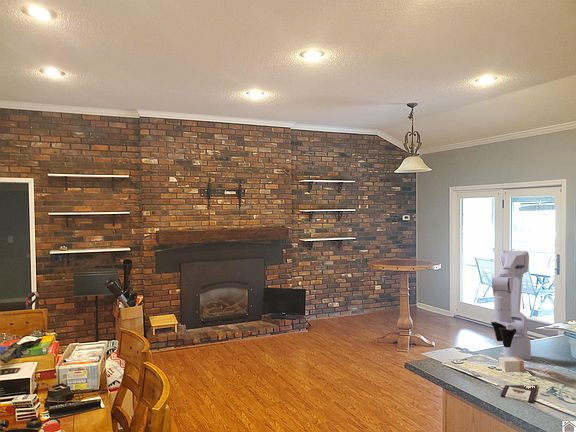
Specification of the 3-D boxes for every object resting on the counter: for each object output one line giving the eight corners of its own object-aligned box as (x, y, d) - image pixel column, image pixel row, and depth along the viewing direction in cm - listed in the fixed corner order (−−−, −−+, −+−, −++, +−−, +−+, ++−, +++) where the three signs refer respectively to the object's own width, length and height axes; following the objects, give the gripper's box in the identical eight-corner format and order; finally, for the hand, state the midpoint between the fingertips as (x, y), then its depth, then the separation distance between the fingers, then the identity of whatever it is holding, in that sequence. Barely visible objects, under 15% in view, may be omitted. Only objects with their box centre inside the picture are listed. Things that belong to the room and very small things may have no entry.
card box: (498, 367, 158) (498, 357, 158) (517, 367, 158) (517, 357, 158) (504, 372, 154) (504, 361, 154) (523, 372, 154) (523, 361, 154)
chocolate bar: (538, 383, 144) (532, 401, 129) (538, 385, 144) (533, 404, 129) (508, 377, 149) (500, 395, 134) (508, 380, 149) (500, 397, 134)
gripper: (521, 312, 152) (522, 350, 152) (507, 304, 166) (507, 338, 166) (500, 312, 153) (501, 349, 153) (488, 304, 167) (488, 338, 167)
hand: (503, 344), depth 159 cm, fingers open, 7 cm apart
